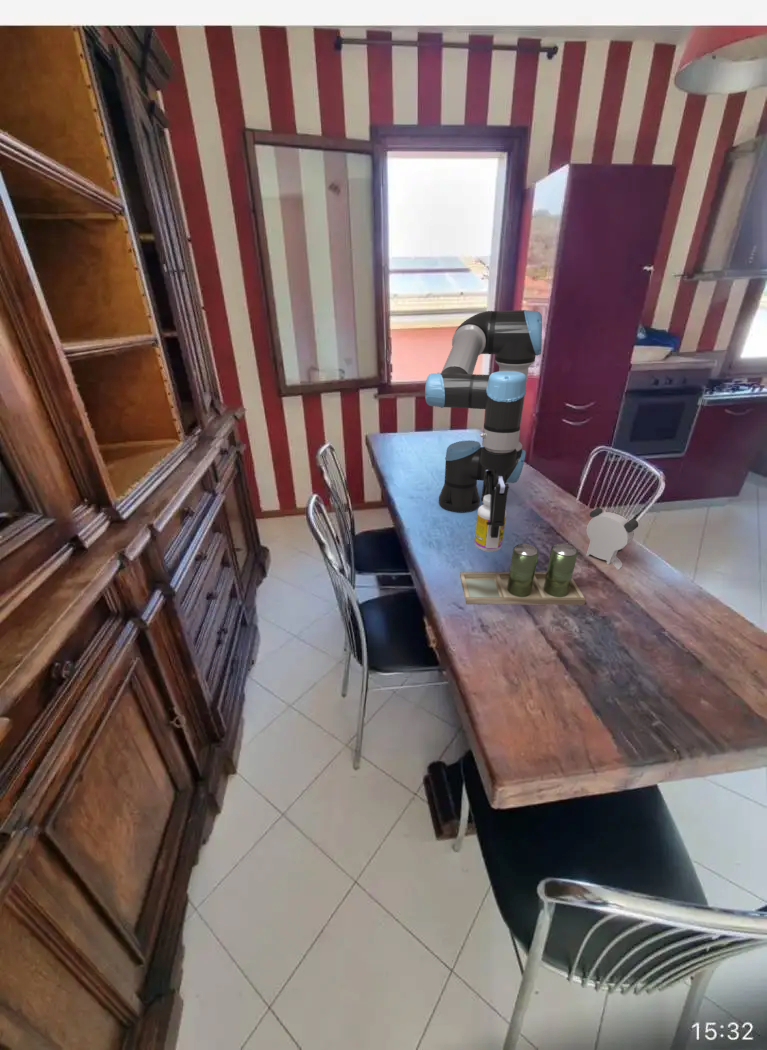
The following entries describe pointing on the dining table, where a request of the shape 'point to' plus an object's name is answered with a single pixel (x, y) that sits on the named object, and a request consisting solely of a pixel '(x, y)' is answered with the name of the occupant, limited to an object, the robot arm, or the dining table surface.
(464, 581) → the caddy
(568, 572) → the can
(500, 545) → the supplement bottle
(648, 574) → the dining table surface
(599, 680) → the dining table surface
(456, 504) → the robot arm
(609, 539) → the panda figurine
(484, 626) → the dining table surface
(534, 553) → the can
